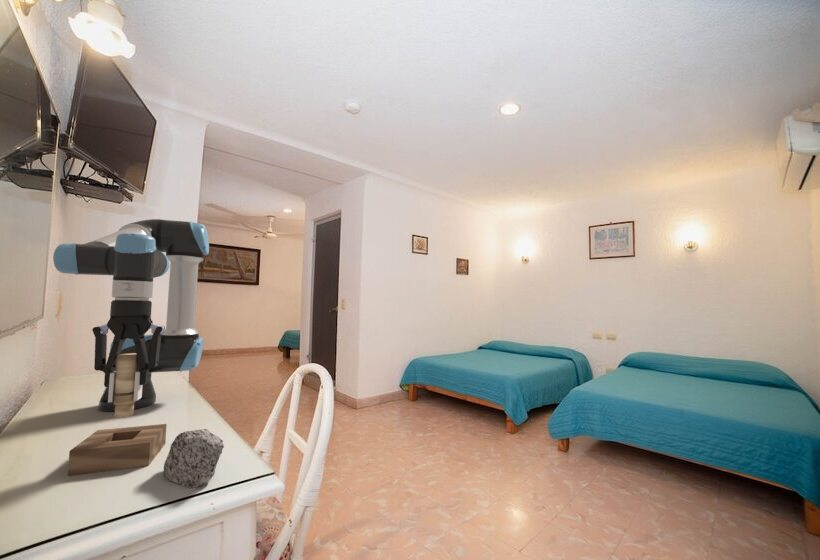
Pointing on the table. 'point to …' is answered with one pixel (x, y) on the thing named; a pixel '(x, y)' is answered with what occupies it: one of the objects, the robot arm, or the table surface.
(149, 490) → the table surface
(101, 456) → the board
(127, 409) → the peg
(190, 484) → the rock
